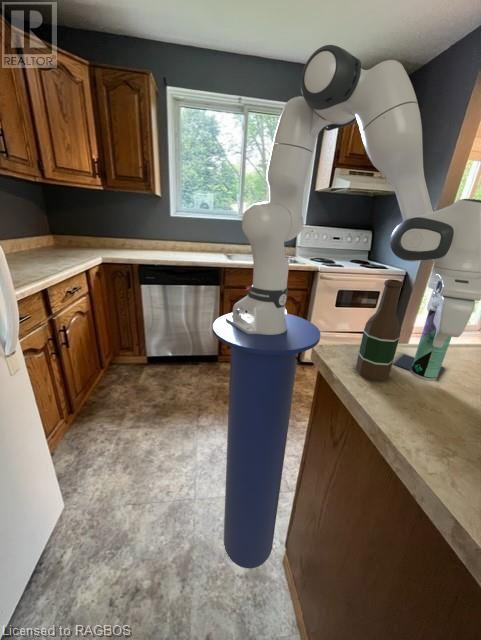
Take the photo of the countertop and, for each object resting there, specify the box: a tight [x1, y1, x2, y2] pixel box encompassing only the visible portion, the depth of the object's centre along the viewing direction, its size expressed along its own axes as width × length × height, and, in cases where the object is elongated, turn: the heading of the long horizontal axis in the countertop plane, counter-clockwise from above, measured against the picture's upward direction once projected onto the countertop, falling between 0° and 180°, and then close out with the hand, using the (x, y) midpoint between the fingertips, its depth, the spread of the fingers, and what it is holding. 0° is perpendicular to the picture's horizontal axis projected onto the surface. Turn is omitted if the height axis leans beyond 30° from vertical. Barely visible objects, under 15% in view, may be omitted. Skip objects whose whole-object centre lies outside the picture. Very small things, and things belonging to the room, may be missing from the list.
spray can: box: [410, 302, 452, 382], centre depth 62 cm, size 6×6×20 cm
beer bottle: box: [355, 278, 404, 382], centre depth 65 cm, size 8×8×24 cm
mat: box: [393, 353, 445, 379], centre depth 74 cm, size 10×9×1 cm
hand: (434, 340), depth 63 cm, fingers closed on spray can, 5 cm apart
